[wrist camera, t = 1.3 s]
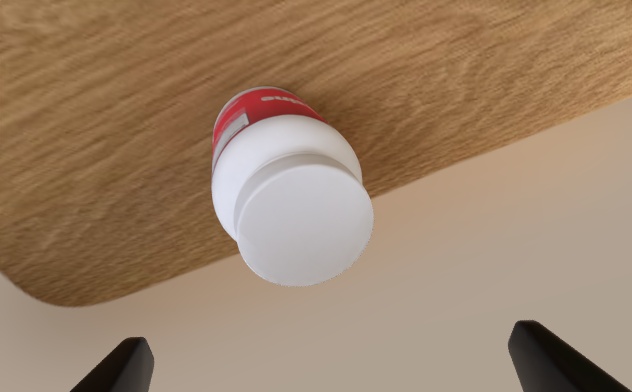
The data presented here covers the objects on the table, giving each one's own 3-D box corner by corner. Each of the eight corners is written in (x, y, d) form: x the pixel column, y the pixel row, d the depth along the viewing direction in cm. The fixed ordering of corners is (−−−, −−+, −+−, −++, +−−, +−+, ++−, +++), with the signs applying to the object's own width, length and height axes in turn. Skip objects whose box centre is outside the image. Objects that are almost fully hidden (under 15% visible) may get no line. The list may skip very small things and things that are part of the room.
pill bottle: (335, 127, 22) (428, 209, 12) (274, 200, 23) (318, 327, 14) (254, 59, 19) (296, 98, 10) (190, 147, 20) (170, 259, 11)
